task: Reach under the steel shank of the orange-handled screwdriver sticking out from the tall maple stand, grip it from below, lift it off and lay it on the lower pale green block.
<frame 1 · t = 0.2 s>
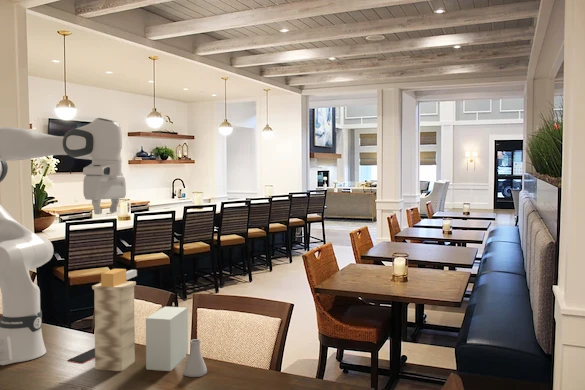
hand: (105, 213, 161), 48 cm above the table, tool pointing down, fingers open, 8 cm apart
pale green block: (167, 361, 162), on the table
high stand: (115, 365, 159), on the table
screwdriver: (114, 283, 158), point 26 cm above the table, touching high stand
smartphone: (89, 357, 168), on the table
flask: (195, 373, 154), on the table
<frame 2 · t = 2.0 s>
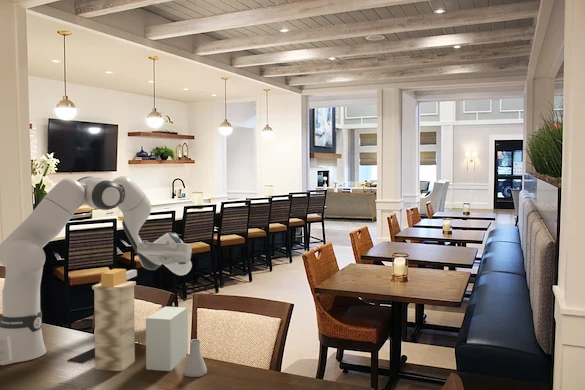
hand: (156, 242, 187), 35 cm above the table, tool pointing upward, fingers open, 8 cm apart
nothing on the table moved.
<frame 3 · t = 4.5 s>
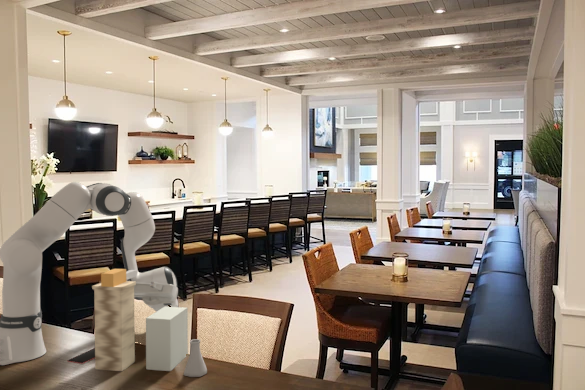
hand: (139, 283, 175), 22 cm above the table, tool pointing upward, fingers open, 8 cm apart
nothing on the table moved.
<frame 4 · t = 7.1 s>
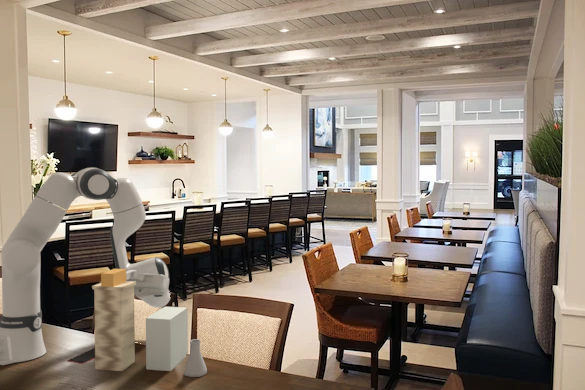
hand: (128, 273, 167), 27 cm above the table, tool pointing upward, fingers closed on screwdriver, 2 cm apart
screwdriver: (114, 283, 158), point 26 cm above the table, touching gripper, high stand
everything else where it was.
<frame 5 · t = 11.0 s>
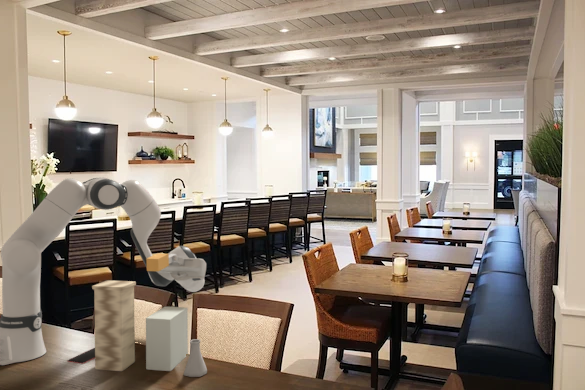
hand: (169, 257, 174), 32 cm above the table, tool pointing upward, fingers closed on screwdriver
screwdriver: (158, 268, 165), point 30 cm above the table, touching gripper
everything else where it was.
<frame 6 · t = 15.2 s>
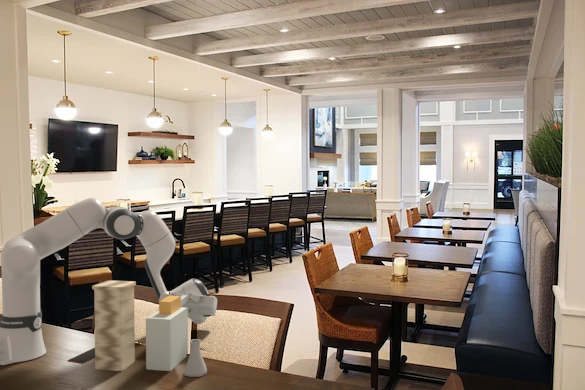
hand: (181, 295, 173), 19 cm above the table, tool pointing upward, fingers open, 5 cm apart
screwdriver: (170, 310, 164), point 16 cm above the table, touching pale green block
everything else where it was.
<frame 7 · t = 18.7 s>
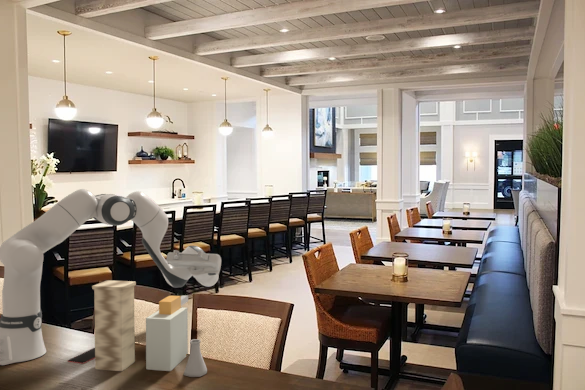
hand: (187, 252, 183), 32 cm above the table, tool pointing upward, fingers open, 8 cm apart
nothing on the table moved.
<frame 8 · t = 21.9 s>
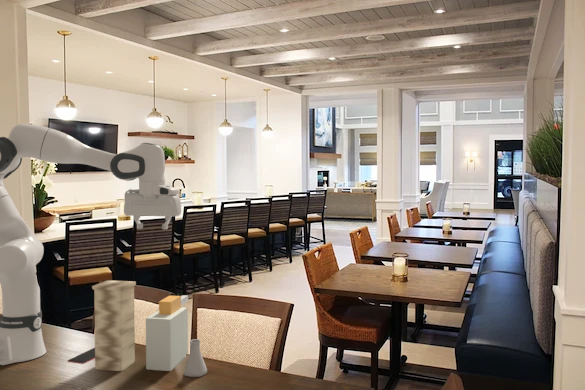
hand: (152, 228, 178), 41 cm above the table, tool pointing down, fingers open, 8 cm apart
nothing on the table moved.
at the end: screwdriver inside the target area on the pale green block (0.7 cm from its centre), point 16.0 cm above the pale green block's base; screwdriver tilted 0°; the gripper is holding nothing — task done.
